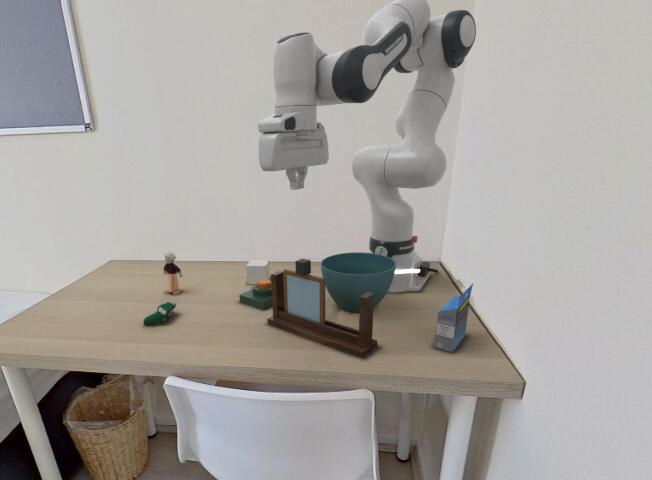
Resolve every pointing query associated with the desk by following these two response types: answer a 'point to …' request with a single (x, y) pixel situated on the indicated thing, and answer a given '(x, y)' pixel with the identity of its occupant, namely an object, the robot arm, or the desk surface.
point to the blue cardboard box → (452, 322)
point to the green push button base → (257, 297)
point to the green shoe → (160, 313)
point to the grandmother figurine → (172, 273)
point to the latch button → (264, 284)
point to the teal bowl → (357, 278)
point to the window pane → (304, 292)
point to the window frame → (328, 332)
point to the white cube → (257, 271)
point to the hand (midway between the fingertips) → (297, 188)
